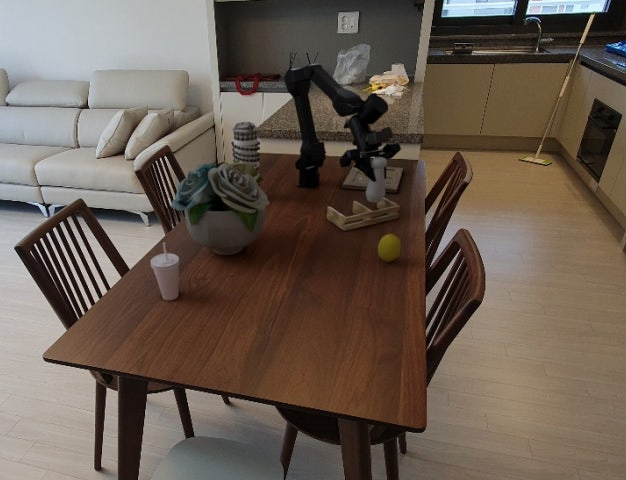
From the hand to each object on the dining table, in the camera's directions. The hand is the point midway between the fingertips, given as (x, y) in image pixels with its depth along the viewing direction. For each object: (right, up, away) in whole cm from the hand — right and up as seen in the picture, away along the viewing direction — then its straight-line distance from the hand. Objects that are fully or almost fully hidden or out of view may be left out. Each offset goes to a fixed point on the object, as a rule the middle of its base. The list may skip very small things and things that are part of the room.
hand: (379, 180), depth 136 cm
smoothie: (-57, -34, -28) cm, 72 cm away
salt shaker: (0, -5, +5) cm, 7 cm away
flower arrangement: (-44, -21, -9) cm, 50 cm away
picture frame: (+7, +8, +34) cm, 36 cm away
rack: (-4, -10, +6) cm, 12 cm away
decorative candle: (-40, -2, +22) cm, 45 cm away
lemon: (-3, -25, -17) cm, 31 cm away
